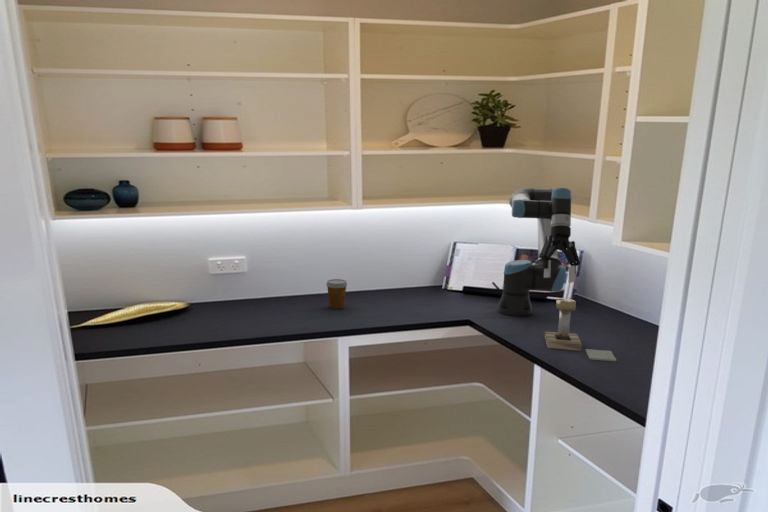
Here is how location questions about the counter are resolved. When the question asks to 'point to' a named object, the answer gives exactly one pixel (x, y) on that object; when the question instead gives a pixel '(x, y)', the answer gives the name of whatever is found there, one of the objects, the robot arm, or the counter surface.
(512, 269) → the robot arm
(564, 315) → the steel peg
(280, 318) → the counter surface
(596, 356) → the rubber mat
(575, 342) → the plate
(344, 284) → the orange pill bottle
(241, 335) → the counter surface
